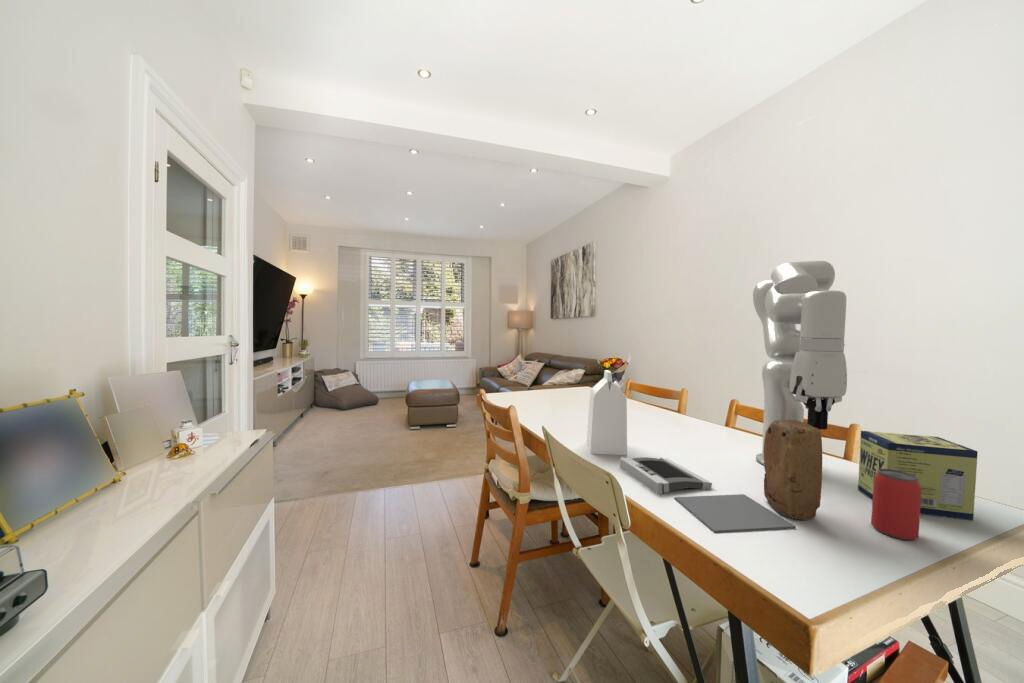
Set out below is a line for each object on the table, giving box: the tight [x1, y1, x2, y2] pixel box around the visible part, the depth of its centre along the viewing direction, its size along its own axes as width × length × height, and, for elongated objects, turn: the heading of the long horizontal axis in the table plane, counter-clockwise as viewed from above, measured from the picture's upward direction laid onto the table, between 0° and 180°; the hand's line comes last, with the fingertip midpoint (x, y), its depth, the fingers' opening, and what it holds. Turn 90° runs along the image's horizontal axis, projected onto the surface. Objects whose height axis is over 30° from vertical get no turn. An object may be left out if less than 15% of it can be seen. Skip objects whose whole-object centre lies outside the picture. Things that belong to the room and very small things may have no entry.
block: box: [763, 420, 823, 521], centre depth 80 cm, size 11×8×20 cm
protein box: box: [857, 430, 979, 521], centre depth 84 cm, size 10×16×16 cm
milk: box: [586, 369, 628, 456], centre depth 120 cm, size 12×12×26 cm
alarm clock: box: [619, 456, 713, 495], centre depth 97 cm, size 17×5×16 cm
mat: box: [674, 493, 797, 533], centre depth 79 cm, size 18×14×1 cm
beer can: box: [870, 469, 922, 541], centre depth 72 cm, size 7×7×12 cm
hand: (816, 427), depth 80 cm, fingers closed
